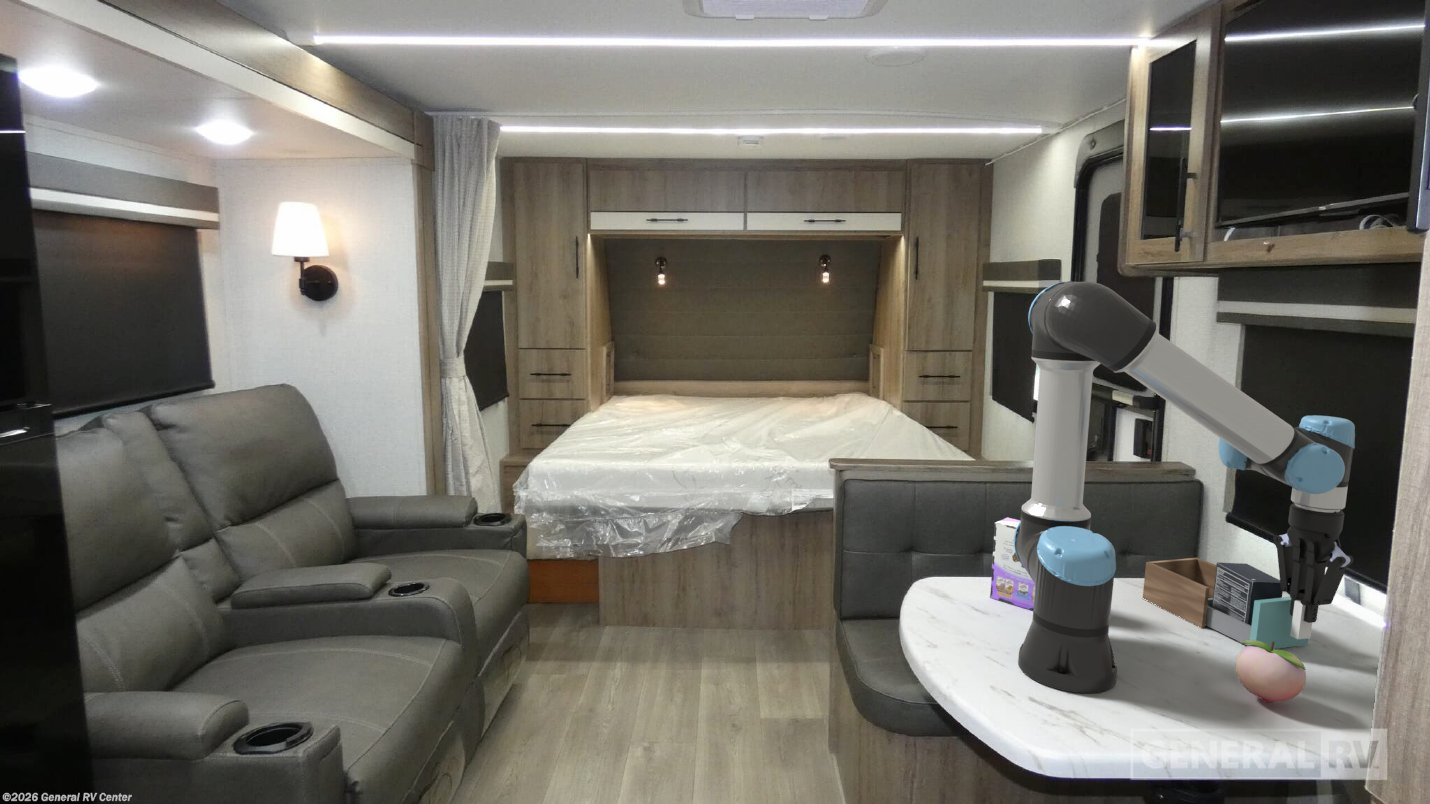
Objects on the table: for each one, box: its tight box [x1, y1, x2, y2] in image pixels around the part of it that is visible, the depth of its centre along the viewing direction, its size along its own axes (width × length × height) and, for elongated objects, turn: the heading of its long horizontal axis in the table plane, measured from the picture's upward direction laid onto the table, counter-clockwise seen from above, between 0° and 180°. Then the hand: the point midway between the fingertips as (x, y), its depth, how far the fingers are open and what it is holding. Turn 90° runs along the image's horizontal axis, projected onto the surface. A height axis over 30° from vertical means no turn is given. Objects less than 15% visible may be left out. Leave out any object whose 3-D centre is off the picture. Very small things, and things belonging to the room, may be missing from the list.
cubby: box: [1142, 557, 1216, 629], centre depth 163 cm, size 13×15×8 cm
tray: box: [1205, 596, 1310, 650], centre depth 153 cm, size 12×15×9 cm
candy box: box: [989, 517, 1035, 611], centre depth 164 cm, size 14×6×16 cm, turn 44°
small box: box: [1211, 561, 1283, 626], centre depth 153 cm, size 11×6×10 cm, turn 1°
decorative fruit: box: [1235, 640, 1307, 703], centre depth 127 cm, size 9×8×10 cm
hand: (1300, 636), depth 143 cm, fingers closed
